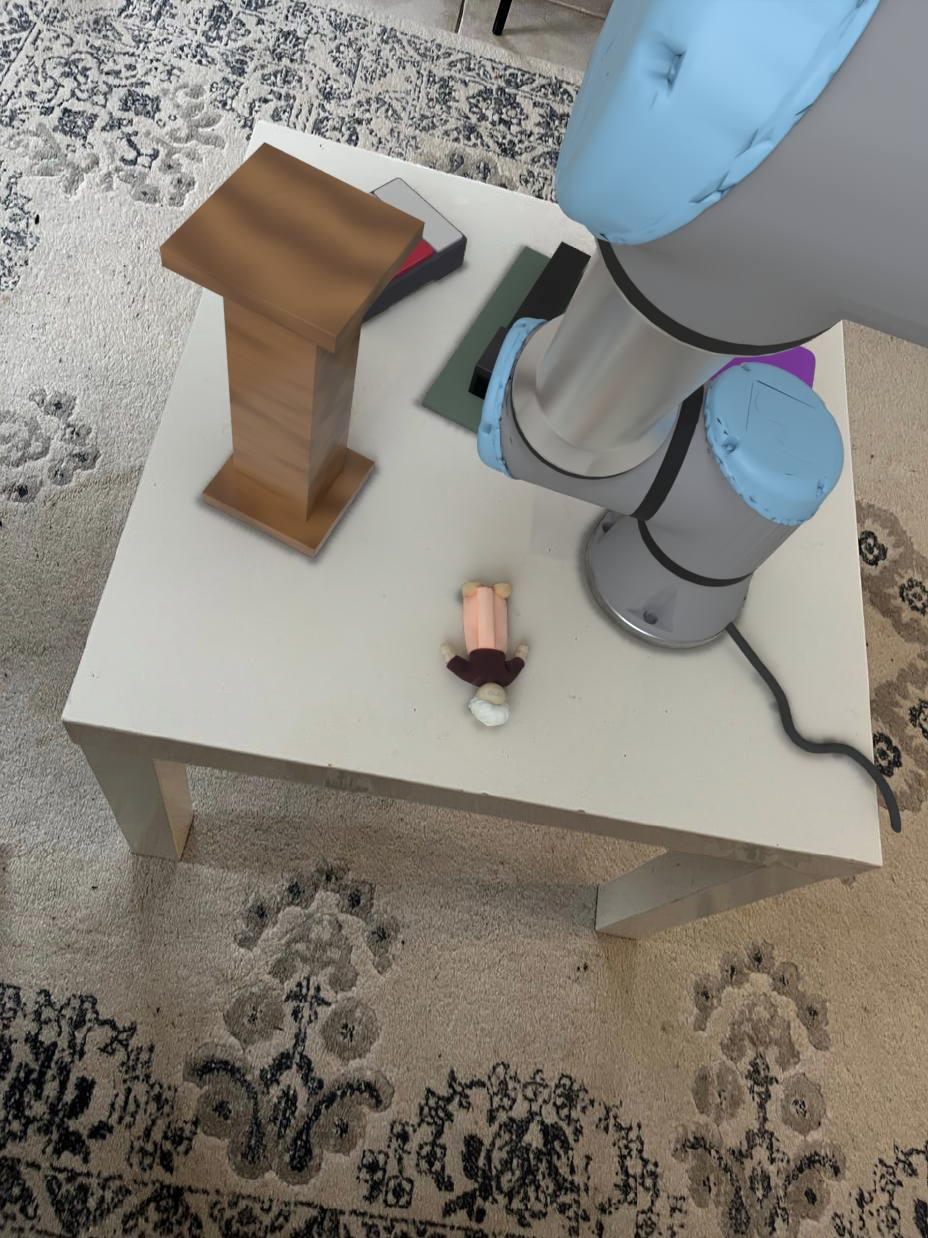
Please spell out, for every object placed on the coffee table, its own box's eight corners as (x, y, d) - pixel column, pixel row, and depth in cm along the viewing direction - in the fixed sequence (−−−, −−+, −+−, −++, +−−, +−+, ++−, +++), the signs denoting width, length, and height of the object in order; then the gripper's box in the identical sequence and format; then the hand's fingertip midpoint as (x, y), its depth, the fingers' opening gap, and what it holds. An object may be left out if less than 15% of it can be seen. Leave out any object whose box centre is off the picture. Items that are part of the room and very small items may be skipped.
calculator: (288, 229, 89) (399, 169, 95) (289, 262, 93) (396, 202, 99) (361, 298, 87) (470, 232, 93) (359, 329, 91) (464, 264, 97)
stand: (267, 411, 84) (264, 140, 59) (380, 469, 83) (425, 221, 59) (194, 503, 78) (158, 246, 53) (316, 566, 78) (336, 336, 53)
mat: (524, 249, 100) (525, 245, 99) (612, 293, 99) (614, 289, 99) (421, 404, 87) (422, 400, 87) (521, 455, 87) (522, 452, 87)
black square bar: (550, 261, 99) (561, 231, 95) (586, 278, 99) (598, 249, 95) (467, 391, 88) (475, 364, 85) (507, 411, 88) (516, 384, 85)
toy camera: (774, 375, 98) (823, 308, 90) (781, 476, 92) (834, 415, 83) (681, 354, 97) (721, 284, 88) (682, 455, 91) (726, 391, 82)
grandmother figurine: (525, 576, 77) (541, 713, 71) (521, 598, 80) (536, 731, 74) (436, 579, 76) (444, 718, 70) (435, 601, 80) (443, 736, 74)
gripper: (839, -384, 59) (703, -38, 78) (735, -266, 48) (605, 107, 66) (942, -336, 59) (781, -1, 78) (863, -206, 47) (695, 152, 66)
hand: (699, 50), depth 72 cm, fingers open, 13 cm apart
